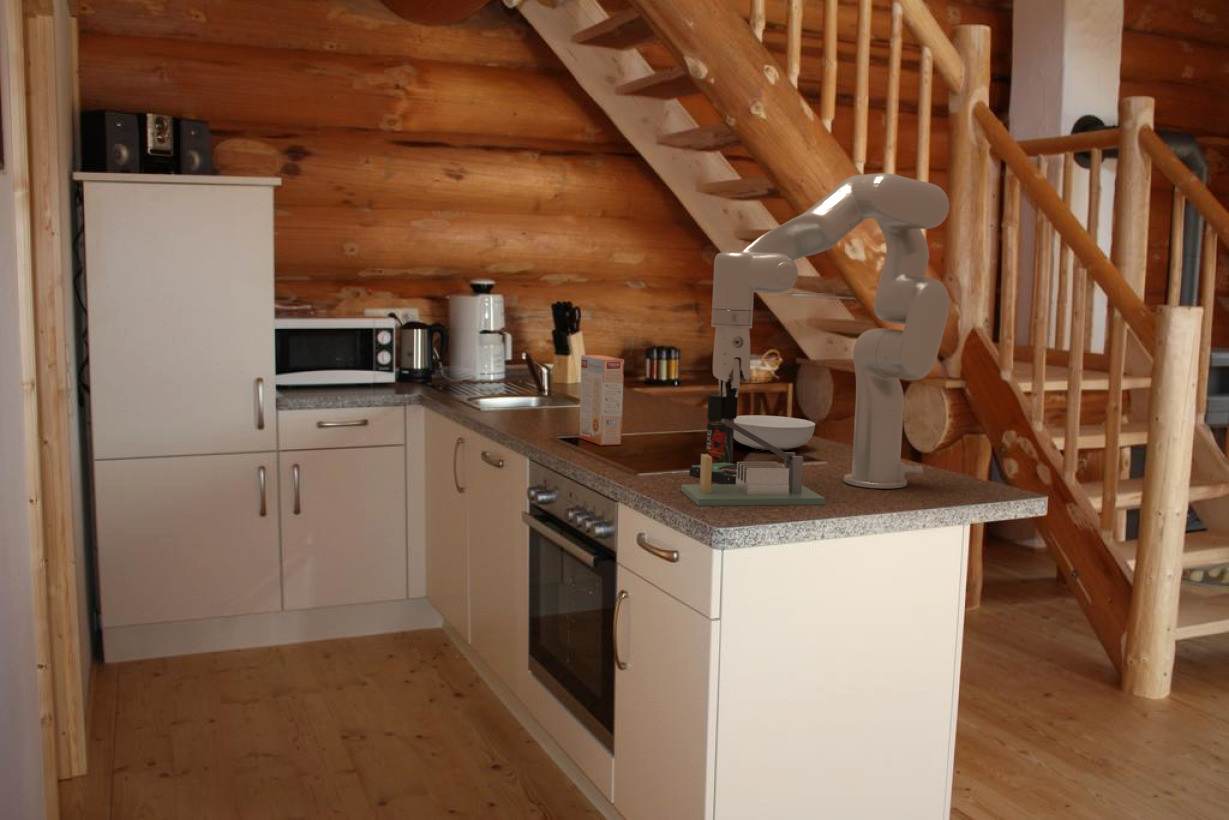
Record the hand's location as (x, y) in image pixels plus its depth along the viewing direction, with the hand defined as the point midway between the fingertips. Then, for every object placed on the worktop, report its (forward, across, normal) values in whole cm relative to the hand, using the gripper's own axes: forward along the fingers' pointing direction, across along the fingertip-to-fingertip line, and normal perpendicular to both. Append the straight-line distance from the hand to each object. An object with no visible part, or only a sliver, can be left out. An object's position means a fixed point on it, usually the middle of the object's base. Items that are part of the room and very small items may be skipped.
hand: (727, 417), depth 218 cm
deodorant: (+15, +39, -9) cm, 43 cm away
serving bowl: (+15, +59, -27) cm, 67 cm away
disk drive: (+16, +19, -7) cm, 26 cm away
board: (+15, 0, -6) cm, 16 cm away
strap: (+5, 0, -6) cm, 8 cm away
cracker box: (+15, +69, +13) cm, 72 cm away
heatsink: (+14, 0, -7) cm, 16 cm away
